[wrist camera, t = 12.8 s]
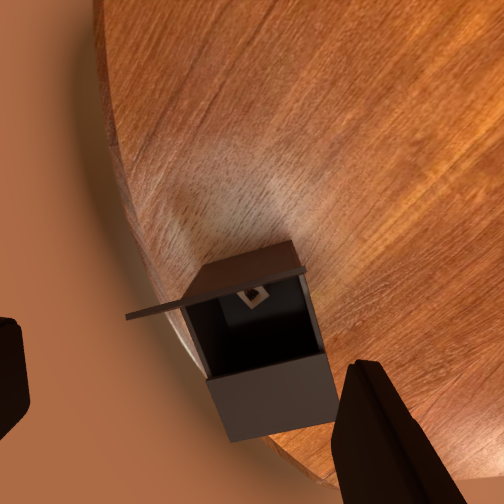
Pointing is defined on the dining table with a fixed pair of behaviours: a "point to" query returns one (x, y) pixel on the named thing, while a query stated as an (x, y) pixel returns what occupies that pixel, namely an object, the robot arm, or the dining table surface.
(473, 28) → the dining table surface
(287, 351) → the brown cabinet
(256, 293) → the cube with dark pebbles
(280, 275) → the flap
